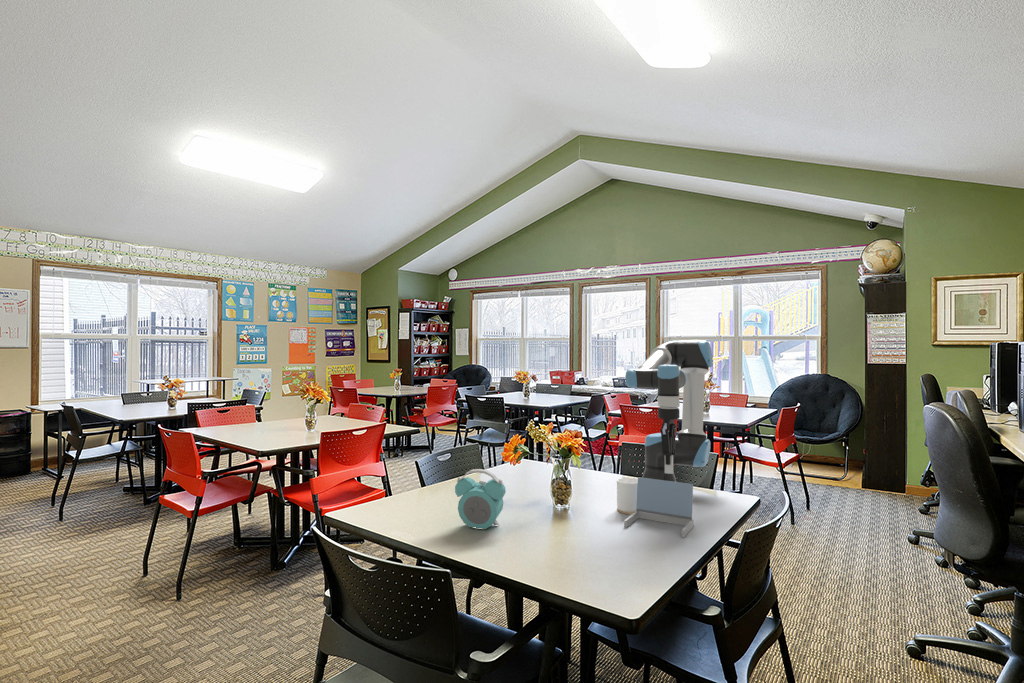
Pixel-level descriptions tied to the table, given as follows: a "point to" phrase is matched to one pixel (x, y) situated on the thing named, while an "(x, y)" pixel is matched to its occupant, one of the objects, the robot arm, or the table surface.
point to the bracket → (661, 520)
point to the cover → (665, 498)
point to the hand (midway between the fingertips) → (668, 473)
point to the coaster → (625, 512)
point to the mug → (627, 494)
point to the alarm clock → (480, 500)
